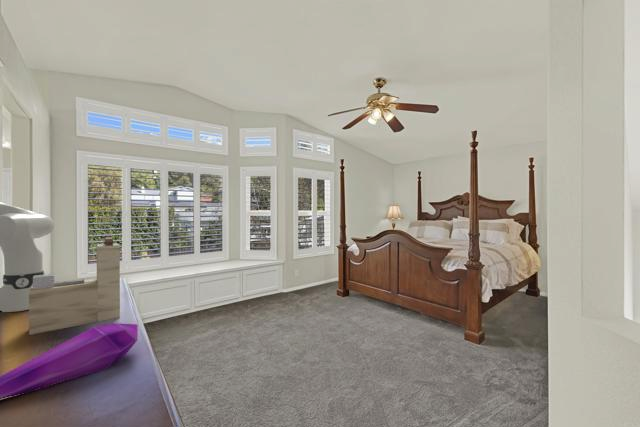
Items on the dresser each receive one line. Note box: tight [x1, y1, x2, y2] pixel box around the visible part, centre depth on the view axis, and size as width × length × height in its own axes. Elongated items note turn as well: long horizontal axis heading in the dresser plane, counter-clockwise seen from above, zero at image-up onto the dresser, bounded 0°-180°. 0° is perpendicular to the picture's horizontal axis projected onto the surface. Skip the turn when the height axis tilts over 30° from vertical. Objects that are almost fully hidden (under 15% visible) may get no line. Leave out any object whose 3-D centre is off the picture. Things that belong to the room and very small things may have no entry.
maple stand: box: [28, 236, 121, 335], centre depth 103 cm, size 8×24×30 cm, turn 130°
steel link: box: [33, 273, 85, 290], centre depth 100 cm, size 13×4×4 cm, turn 131°
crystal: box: [0, 322, 139, 399], centre depth 72 cm, size 9×15×30 cm
